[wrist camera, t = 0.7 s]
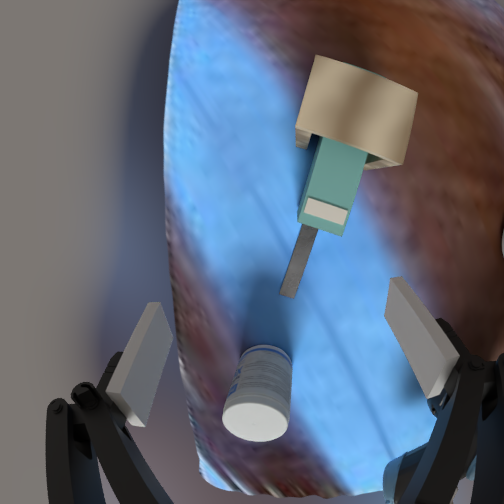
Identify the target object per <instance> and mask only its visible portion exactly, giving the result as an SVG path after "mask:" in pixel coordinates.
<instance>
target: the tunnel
mask: <svg viewBox="0 0 504 504" xmlns="http://www.w3.org/2000/svg"><path fill="white" fill-rule="evenodd" d="M417 96H418V93H417V92H415V91H413V90H410V89H408V88H406V87H404V86H402V85H400V84H397V83H395V82H393V81H391V80H388V79H386V78H383V77H381V76H379V75H376V74H373V73H371V72H368V71H366V70H363V69H360V68H357V67H355V66H352V65H349V64H346V63H343V62H339V61H336V60H333V59H330V58H326V57H323V56H319V55H316V56H315V60H314V63H313V67H312V70H311V74H310V77H309V81H308V84H307V87H306V91H305V94H304V98H303V101H302V105H301V108H300V112H299V115H298V118H297V122H296V125H295V130H296V147H299V148H302V149H305V150H307V147H308V144H309V140H310V137H311V134H312V133H313V134H316V135H320V136H323V137H326V138H329V139H332V140H335V141H338V142H341V143H343V144H346V145H349V146H352V147H355V148H357V149H360V150H363V151H365V152H368V154H367V158H366V161H365V165H364V168H363V169H364V170H370V169H377V168H383V167H389V166H396V165H403V161H404V158H405V154H406V149H407V145H408V141H409V137H410V132H411V127H412V123H413V118H414V113H415V107H416V102H417Z"/></svg>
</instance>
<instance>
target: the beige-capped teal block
mask: <svg viewBox="0 0 504 504" xmlns="http://www.w3.org/2000/svg"><path fill="white" fill-rule="evenodd" d="M343 63H345V62H343ZM346 64H348V63H346ZM349 65H351V64H349ZM352 66H354V65H352ZM355 67H357V66H355ZM357 68H360V67H357ZM360 69H362V68H360ZM363 70H365V69H363ZM366 71H368V70H366ZM368 72H370V71H368ZM371 73H373V72H371ZM373 74H376V73H373ZM376 75H378V74H376ZM379 76H381V75H379ZM381 77H383V76H381ZM383 78H386V77H383ZM367 154H368V152H365V151H363V150H360V149H357V148H355V147H352V146H349V145H346V144H343V143H341V142H338V141H335V140H332V139H329V138H326V137H323V136H320V137H319V141H318V144H317V148H316V151H315V154H314V158H313V161H312V165H311V168H310V171H309V175H308V178H307V181H306V185H305V188H304V191H303V195H302V198H301V201H300V204H299V208H298V211H297V220H298V222H299V223H302V224H305V225H308V226H311V227H314V228H317V229H320V230H323V231H326V232H329V233H332V234H335V235H338V236H341V237H342V235H343V232H344V229H345V226H346V223H347V220H348V217H349V214H350V211H351V208H352V205H353V202H354V198H355V195H356V192H357V189H358V185H359V182H360V179H361V175H362V172H363V168H364V165H365V161H366V158H367Z"/></svg>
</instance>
